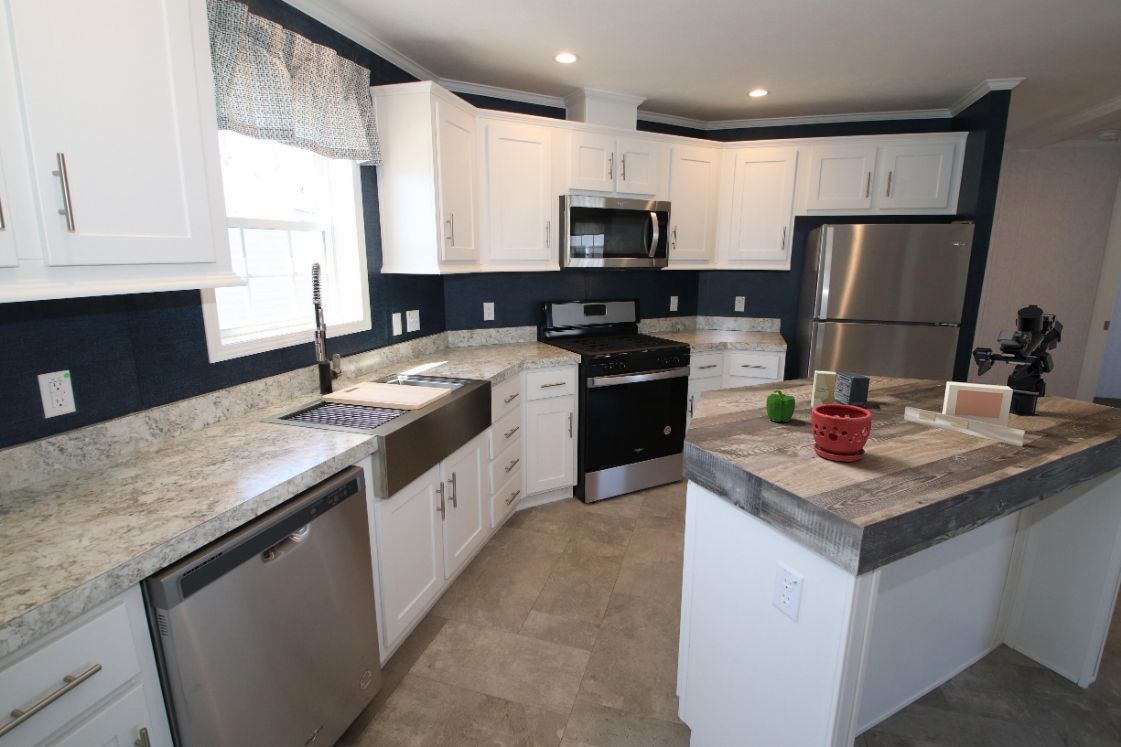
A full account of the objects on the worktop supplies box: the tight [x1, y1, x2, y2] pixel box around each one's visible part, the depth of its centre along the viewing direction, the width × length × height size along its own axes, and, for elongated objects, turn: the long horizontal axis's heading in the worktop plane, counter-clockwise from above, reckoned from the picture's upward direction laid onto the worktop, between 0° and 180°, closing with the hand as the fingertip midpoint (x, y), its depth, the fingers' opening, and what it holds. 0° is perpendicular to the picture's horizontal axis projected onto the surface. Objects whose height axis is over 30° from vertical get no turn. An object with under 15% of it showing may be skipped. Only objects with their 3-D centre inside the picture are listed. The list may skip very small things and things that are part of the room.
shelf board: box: [903, 406, 1048, 447], centre depth 151 cm, size 18×28×6 cm, turn 32°
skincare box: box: [810, 370, 837, 409], centre depth 176 cm, size 6×4×12 cm
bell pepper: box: [765, 388, 796, 423], centre depth 162 cm, size 8×8×10 cm
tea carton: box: [941, 381, 1013, 427], centre depth 150 cm, size 10×14×12 cm
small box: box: [833, 371, 871, 409], centre depth 181 cm, size 11×6×10 cm, turn 179°
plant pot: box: [811, 403, 873, 463], centre depth 132 cm, size 13×13×12 cm
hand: (995, 376), depth 155 cm, fingers open, 9 cm apart
